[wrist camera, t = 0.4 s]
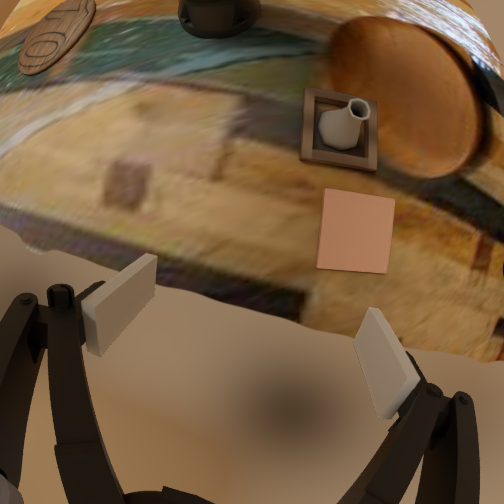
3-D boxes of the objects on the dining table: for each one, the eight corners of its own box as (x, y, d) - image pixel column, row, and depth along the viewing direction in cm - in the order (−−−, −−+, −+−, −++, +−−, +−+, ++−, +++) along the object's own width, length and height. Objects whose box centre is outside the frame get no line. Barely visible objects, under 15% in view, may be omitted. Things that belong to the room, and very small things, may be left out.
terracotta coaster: (323, 188, 40) (325, 188, 39) (391, 199, 40) (394, 199, 39) (315, 266, 42) (316, 268, 41) (383, 272, 42) (386, 273, 41)
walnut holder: (303, 91, 38) (305, 86, 36) (372, 105, 38) (376, 101, 36) (299, 160, 40) (301, 157, 38) (371, 171, 40) (376, 169, 38)
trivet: (55, 4, 34) (52, 2, 32) (115, -6, 35) (112, -10, 33) (10, 76, 37) (5, 74, 35) (59, 76, 38) (54, 73, 36)
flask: (357, 112, 39) (381, 89, 29) (360, 153, 40) (387, 138, 30) (315, 107, 39) (330, 81, 29) (317, 149, 40) (334, 131, 30)
